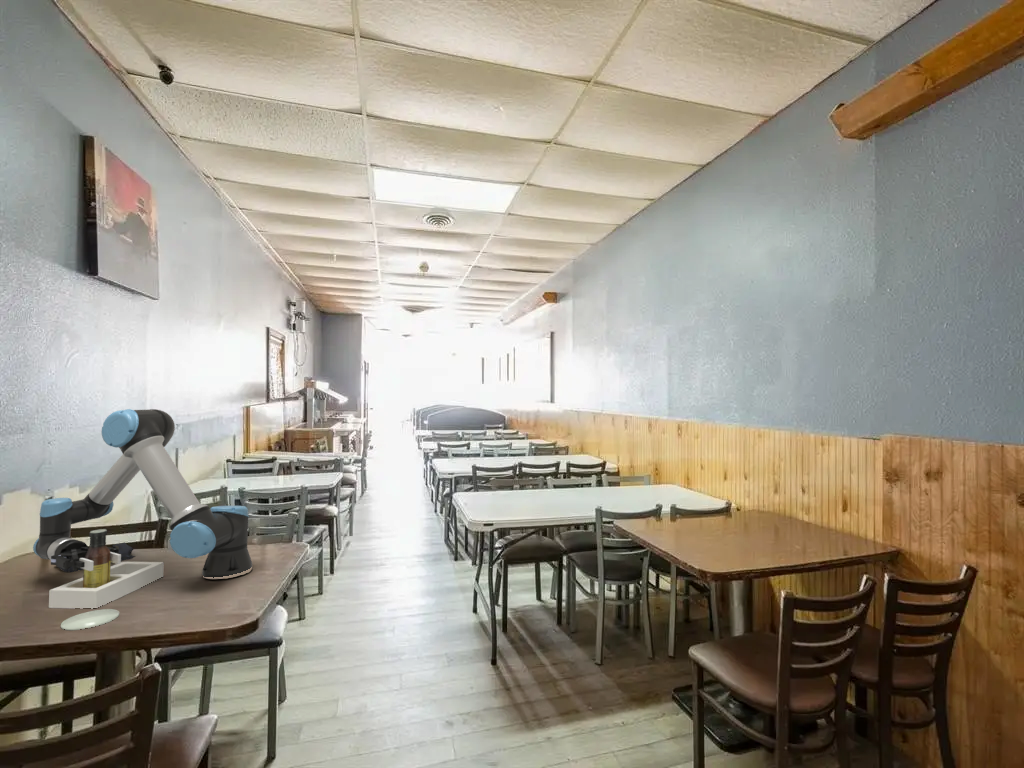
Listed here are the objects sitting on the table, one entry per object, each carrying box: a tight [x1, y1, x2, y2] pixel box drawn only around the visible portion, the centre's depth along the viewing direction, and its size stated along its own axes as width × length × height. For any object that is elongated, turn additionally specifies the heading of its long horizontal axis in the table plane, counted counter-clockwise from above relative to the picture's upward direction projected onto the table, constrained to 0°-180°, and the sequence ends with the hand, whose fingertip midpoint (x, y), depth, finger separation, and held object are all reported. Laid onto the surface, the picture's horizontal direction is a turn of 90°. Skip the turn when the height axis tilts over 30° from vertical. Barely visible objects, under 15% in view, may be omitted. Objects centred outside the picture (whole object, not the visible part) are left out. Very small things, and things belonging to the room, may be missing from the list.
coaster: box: [60, 608, 120, 631], centre depth 133 cm, size 12×12×1 cm
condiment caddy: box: [48, 561, 165, 610], centre depth 153 cm, size 14×26×5 cm, turn 178°
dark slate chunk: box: [56, 542, 136, 573], centre depth 182 cm, size 15×22×5 cm
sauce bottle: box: [82, 528, 112, 588], centre depth 148 cm, size 7×6×20 cm
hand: (105, 562), depth 146 cm, fingers closed on sauce bottle, 6 cm apart
